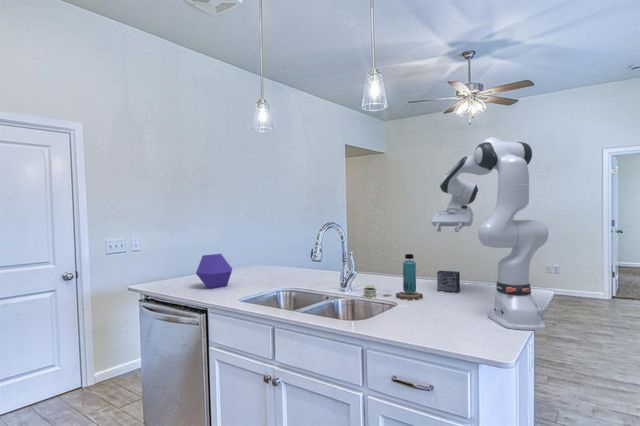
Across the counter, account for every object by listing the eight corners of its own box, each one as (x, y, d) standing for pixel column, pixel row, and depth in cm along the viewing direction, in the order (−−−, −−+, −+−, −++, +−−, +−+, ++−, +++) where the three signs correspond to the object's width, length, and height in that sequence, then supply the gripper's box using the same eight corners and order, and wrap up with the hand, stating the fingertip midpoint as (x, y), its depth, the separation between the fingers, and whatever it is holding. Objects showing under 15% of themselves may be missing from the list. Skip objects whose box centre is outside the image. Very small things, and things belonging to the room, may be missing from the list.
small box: (460, 291, 205) (460, 271, 205) (457, 293, 200) (457, 273, 200) (440, 289, 211) (440, 269, 211) (437, 291, 205) (436, 271, 205)
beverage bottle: (414, 292, 196) (414, 253, 196) (418, 295, 189) (417, 254, 189) (401, 292, 196) (401, 253, 196) (404, 295, 189) (404, 254, 189)
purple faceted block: (228, 289, 238) (222, 258, 244) (242, 280, 224) (235, 247, 230) (192, 294, 223) (187, 261, 229) (205, 285, 209) (199, 250, 215)
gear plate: (423, 300, 185) (423, 297, 185) (396, 300, 187) (396, 296, 187) (421, 294, 197) (421, 291, 197) (395, 294, 200) (395, 291, 200)
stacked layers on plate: (383, 298, 193) (383, 287, 193) (368, 300, 189) (368, 289, 189) (371, 294, 202) (371, 283, 202) (357, 296, 198) (357, 285, 198)
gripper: (434, 207, 204) (425, 226, 197) (472, 206, 191) (465, 226, 183) (438, 216, 208) (430, 234, 200) (476, 215, 194) (469, 235, 186)
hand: (447, 231), depth 192 cm, fingers open, 8 cm apart
